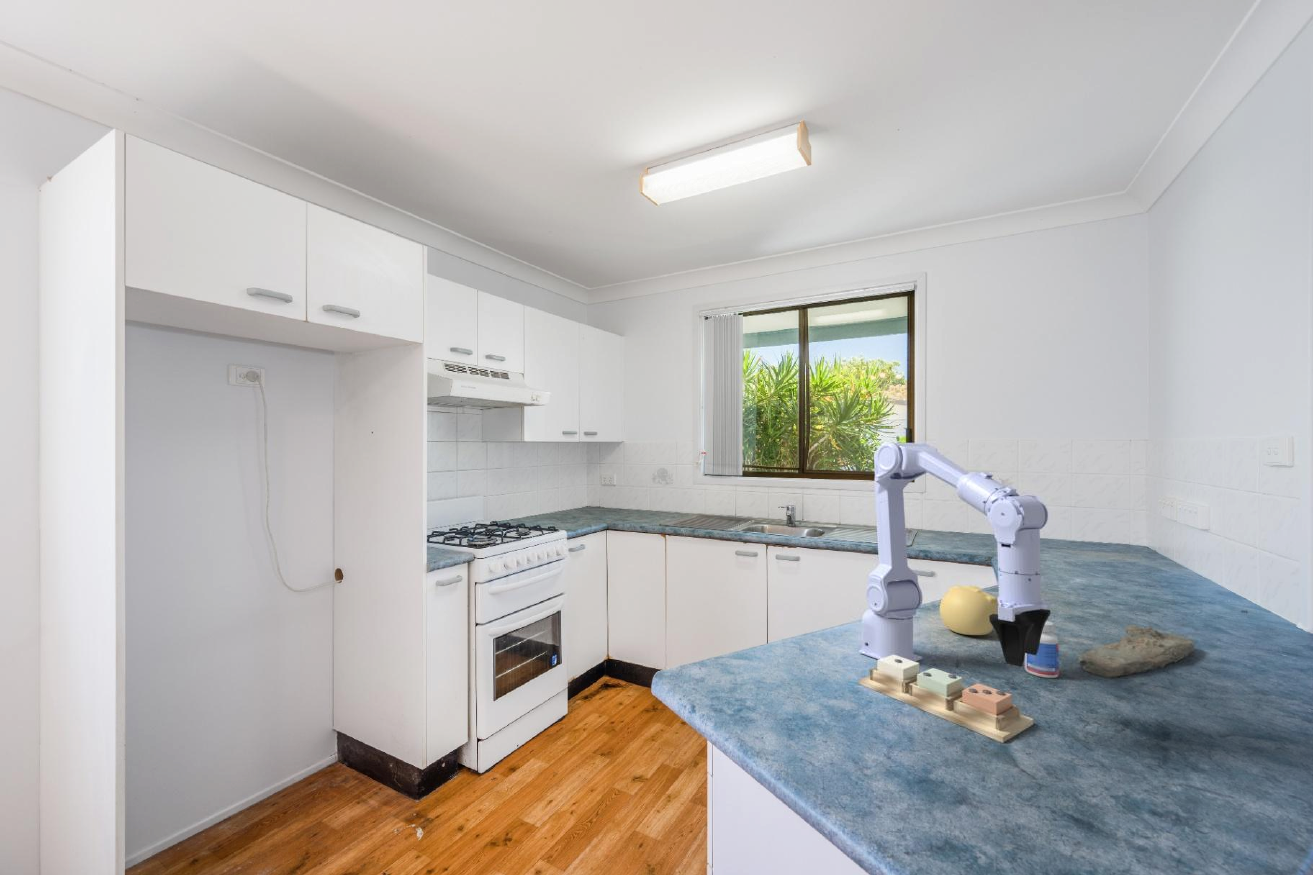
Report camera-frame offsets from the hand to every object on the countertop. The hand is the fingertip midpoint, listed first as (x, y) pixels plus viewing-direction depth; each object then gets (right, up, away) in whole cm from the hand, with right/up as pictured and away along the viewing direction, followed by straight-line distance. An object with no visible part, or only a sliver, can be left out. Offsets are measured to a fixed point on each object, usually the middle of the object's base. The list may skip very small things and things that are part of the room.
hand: (1021, 658), depth 87 cm
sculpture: (+16, -11, +42) cm, 46 cm away
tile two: (-10, -8, +6) cm, 14 cm away
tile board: (-10, -10, +6) cm, 15 cm away
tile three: (-6, -8, -1) cm, 10 cm away
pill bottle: (+16, -10, +19) cm, 27 cm away
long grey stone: (+41, -11, +26) cm, 50 cm away
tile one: (-14, -8, +12) cm, 20 cm away
